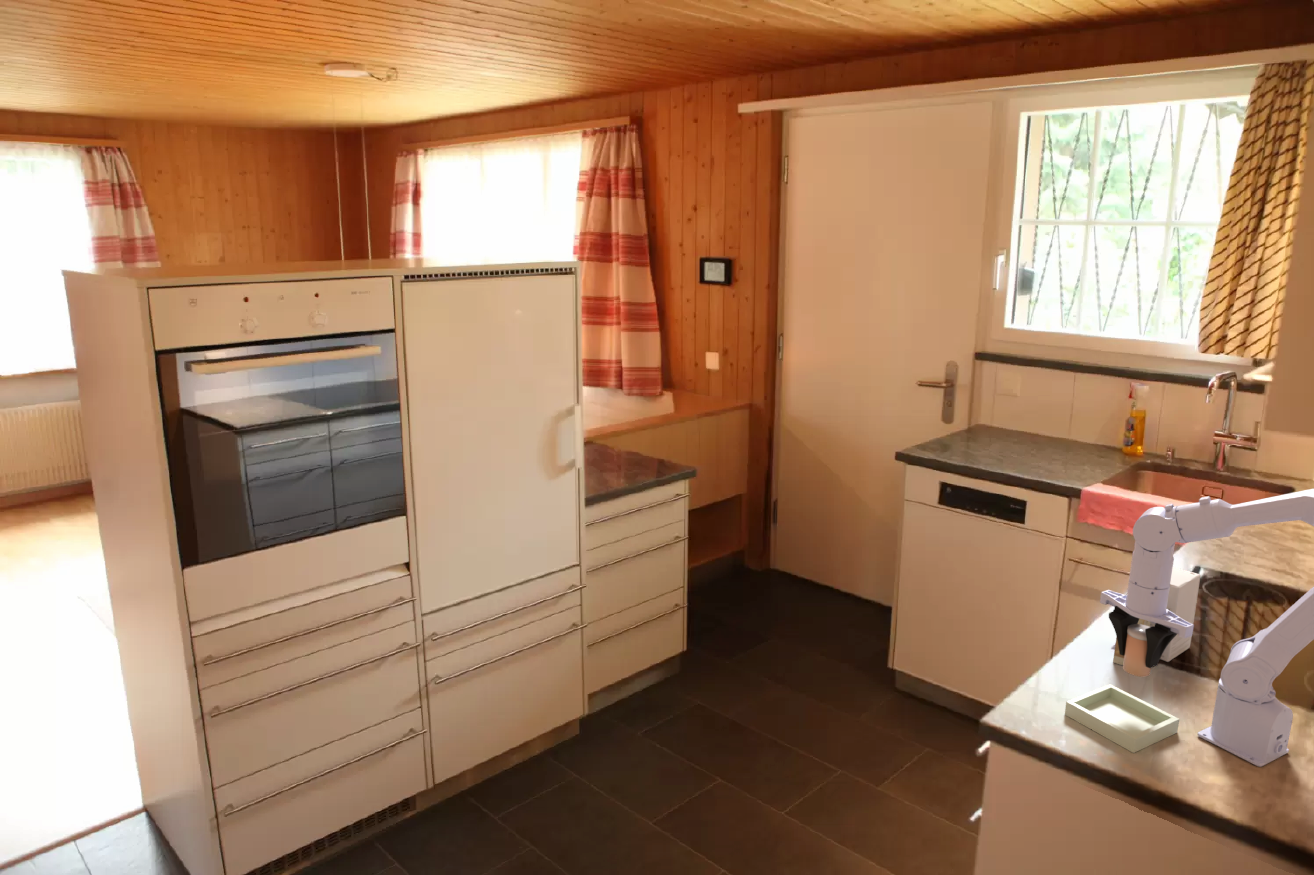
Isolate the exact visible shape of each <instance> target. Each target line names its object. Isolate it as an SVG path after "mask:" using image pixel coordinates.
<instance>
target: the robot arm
mask: <svg viewBox="0 0 1314 875" xmlns="http://www.w3.org/2000/svg"><path fill="white" fill-rule="evenodd" d="M1294 521H1301V522H1304V523H1306V524H1308V525H1310V526H1312V527H1314V488H1310V489H1305V490H1300V491H1296V492H1289V493H1284V494H1281V495H1280V494H1279V495H1276V496H1270V497H1266V498H1261V499H1260V498H1259V499H1257V500H1250V501H1247V502H1241V503H1236V504H1232V503H1229V502H1227V501H1225V500H1223V499H1221V498H1215V499H1211V496H1209V495H1208V496H1202V497H1200V498H1199V499H1198V502H1192V503H1186V504H1181V505H1174V503H1170V504H1166V505H1165V506H1164V507H1163V506H1154V507H1150V508H1148V509H1146V510H1145V511H1143V513H1142V514H1141V515H1140V516H1139V517H1138V519H1137V520H1136V521H1135V522H1134V525H1133V528H1132V536H1133V539H1134V545H1133V546H1134V549H1133V551H1132V555H1131V563H1130V569H1129V575H1128V576H1129V577H1128V584H1127V585H1128V586H1127V591H1126V592H1127V593H1126V594H1127V595H1126V594H1122V593H1119V592H1116V591H1114V590H1110V589H1107V590H1103V591H1100V599H1099V603H1100V604H1102V605H1105V606H1106V605H1109V606H1112V607H1114V608H1113V610H1112V611H1110V612H1109V613H1108V619H1109V621H1110V622H1111V624H1112V626H1113V629H1114V632H1115V636H1116V637H1117V641H1118V646H1119V653H1120V655H1123V656H1124V655H1125V648H1126V641H1127V634H1128V633H1127V629H1128V626H1129V625H1131V624H1138V621H1139V618H1140V619H1143V620H1147V621H1149V622H1151V623H1154V624H1155V626H1153V627H1150V628H1147V629H1145V632H1146V637H1147V653H1146V660H1145V665H1146V667H1148V668H1151V669H1152V668H1154V667H1157V666H1158V664H1159V662H1160V660H1161V659H1160V658H1161V656H1162V654H1163V652H1164V650H1165V649H1166V647H1167V646H1168V644H1169V643H1170V642H1171V640H1172V639H1173V638H1174V637H1175V636H1176V635H1177V634H1178V636H1179V637H1182V638H1184V639H1185V638H1188V637H1190V636H1191V637H1192V636H1193V633H1194V628H1195V624H1194V623H1193V624H1191V623H1189V622H1187V621H1185V620H1183V619H1182V618H1180V617H1179V616H1177V615H1176V614H1174V613H1172V612H1171V611H1169V610H1168V609H1167V602H1168V596H1169V589H1170V582H1171V575H1172V568H1173V567H1174V560H1175V558H1174V557H1175V556H1174V553H1175V545H1176V543H1179V544H1180V543H1181V544H1187V543H1194V542H1202V541H1209V540H1214V539H1215V540H1216V539H1221V538H1228V537H1231V536H1232V535H1233V533H1234V532H1235V531H1236V529H1238V528H1239V527H1247V526H1248V527H1249V526H1259V525H1265V524H1275V523H1285V522H1294ZM1312 641H1314V586H1313V587H1311V588H1310V589H1309V590H1308V591H1306V593H1304V595H1302V596H1301V597H1300V598H1299V599H1298V600H1297V601H1295V603H1294V604H1292V605H1291V606H1290V607H1289V608H1288V609H1287V610H1285V611H1284V612H1283V613H1282V614H1281V615H1280V616H1279V617H1278V618H1277V619H1275V620H1274V621H1273V622H1272V623H1271V624H1270V625H1269V626H1268V627H1266V628H1264V629H1260V630H1259V631H1258V632H1256V634H1255V635H1253V636H1251V637H1248V638H1243V639H1240V640H1237V641H1236V642H1235V643H1234V644H1233V645H1232V646H1231V649H1230V652H1229V656H1228V658H1227V661H1226V663H1225V664H1224V666H1223V668H1222V669H1221V671H1220V678H1219V679H1218V685H1217V691H1216V696H1215V702H1214V708H1213V714H1212V720H1211V725H1210V726H1208V727H1206V728H1204V729H1202V730H1200V731H1198V732H1197V736H1198V737H1199V738H1201V739H1204V740H1205V741H1207V742H1210V743H1211V744H1213V745H1215V746H1218V747H1219V748H1221V749H1223V750H1225V751H1227V752H1229V753H1231V754H1233V755H1235V756H1237V757H1239V758H1241V759H1243V760H1244V761H1246V762H1249V763H1251V764H1253V765H1254V766H1257V767H1258V768H1259V767H1263V766H1266V765H1267V764H1269V763H1271V762H1273V761H1274V760H1276V759H1279V758H1280V757H1283V756H1284V755H1286V754H1287V753H1289V751H1290V749H1289V748H1288V745H1289V740H1290V735H1291V729H1292V725H1293V724H1292V723H1293V720H1294V715H1293V714H1294V713H1293V710H1292V709H1291V708H1290V707H1289V706H1287V705H1285V704H1284V703H1282V702H1281V701H1280V700H1279V699H1278V698H1277V697H1276V690H1275V689H1274V687H1273V682H1274V681H1275V679H1276V678H1277V677H1279V676H1280V675H1281V673H1283V671H1284V670H1285V668H1286V667H1287V666H1288V665H1289V663H1290V662H1291V661H1292V659H1293V658H1294V657H1295V656H1296V655H1297V654H1299V653H1300V652H1301V651H1302V650H1303V649H1304V648H1306V646H1308V645H1309V644H1310V643H1311V642H1312Z"/></svg>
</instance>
